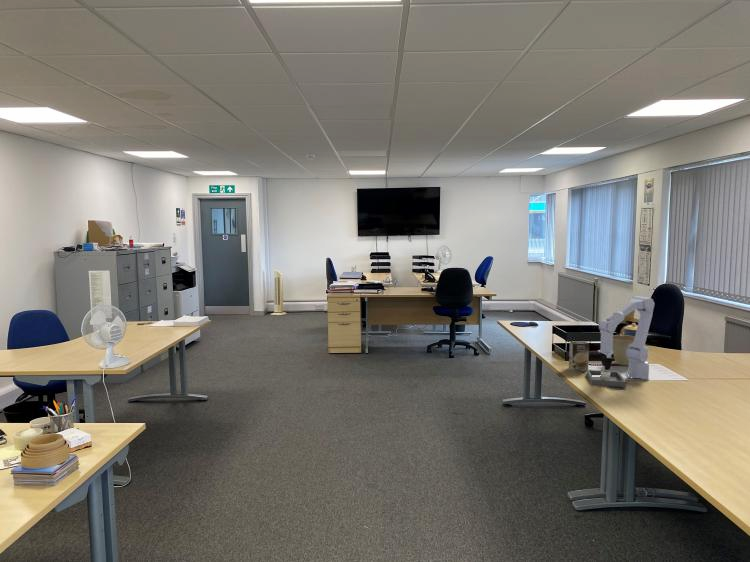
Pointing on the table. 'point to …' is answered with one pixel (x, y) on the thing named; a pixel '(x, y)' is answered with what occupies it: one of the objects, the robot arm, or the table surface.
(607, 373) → the cylinder
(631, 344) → the robot arm
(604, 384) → the tray
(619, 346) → the plant pot
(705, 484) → the table surface
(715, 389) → the table surface
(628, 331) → the canister
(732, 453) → the table surface
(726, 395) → the table surface
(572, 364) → the coffee box
